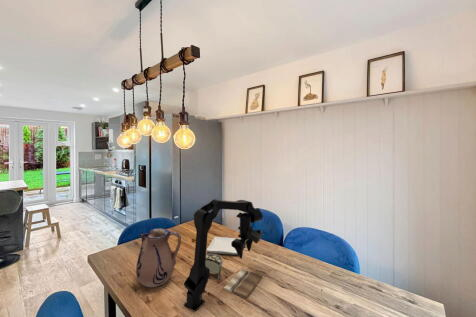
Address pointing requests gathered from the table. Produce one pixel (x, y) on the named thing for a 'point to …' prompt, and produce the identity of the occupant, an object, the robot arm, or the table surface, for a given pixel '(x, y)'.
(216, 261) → the food container
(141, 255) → the ceramic pitcher
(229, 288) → the ash board
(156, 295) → the table surface
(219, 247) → the salad plate
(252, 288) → the board
